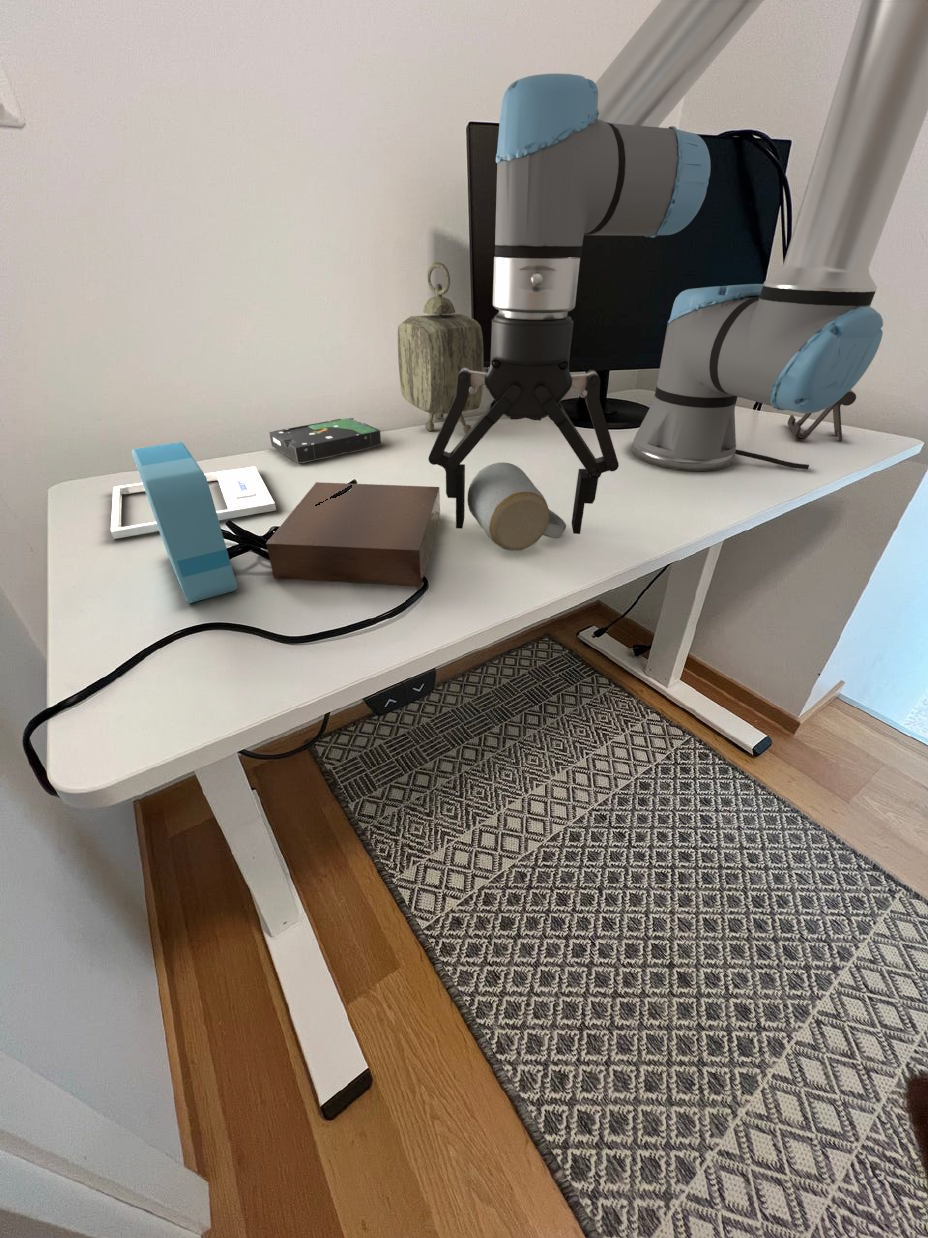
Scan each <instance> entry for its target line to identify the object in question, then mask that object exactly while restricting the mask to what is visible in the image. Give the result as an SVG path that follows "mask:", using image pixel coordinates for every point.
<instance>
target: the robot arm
mask: <svg viewBox="0 0 928 1238" xmlns="http://www.w3.org/2000/svg"><path fill="white" fill-rule="evenodd" d="M764 1H765V0H660V1H659V2H658V4H657V5H656V6H655V7H654V9H653V10H652V11H651V13H650V14H648V17H646V19H645V20H644V21H643V22H642V24H641V25H640V27H639V28H638V29H637V30H636V31H635V32H634V33H633V35H632V36H631V38H630V39H629V40H628V41H627V42H626V44H625V45H624V46H623V48H622V49H621V50H620V51H619V53H618V54H617V55H616V56H615V58H614V59H613V60H612V61H611V63H610V64H609V66H607V68H606V69H605V70H604V72H603V73H602V74H601V75H600V76H599V78H598V79H597V80H596V81H594V80H593V79H589V78H586V77H585V76H583V75H579V74H573V73H572V74H571V73H541V74H533V75H529V76H525V77H521V78H519V79H517V80H515V81H513V82H511V84H509V85H508V87H507V88H506V90H505V92H504V93H503V96H502V100H501V107H500V117H499V124H498V125H499V126H498V137H497V149H496V155H495V163H496V195H495V196H496V197H495V202H496V203H495V204H496V205H495V231H494V232H495V233H494V235H495V236H494V237H495V238H494V239H495V240H494V245H495V247H494V257H493V281H492V282H493V283H492V306H493V307H494V309H496V310H498V312H497V314H495V315H494V317H493V318H492V319H491V335H490V337H491V342H490V364H489V368H488V370H487V371H484V372H480V371H471V369H470V368H469V367H463V368H462V369H461V370H460V373H459V375H458V382H457V393H456V397H455V399H454V401H453V403H452V406H451V408H450V410H449V412H448V414H446V417H445V419H444V421H443V423H442V426H441V427H440V430H439V432H438V435H437V437H436V439H435V441H434V444H433V445H432V447H431V450H430V452H429V455H428V458H427V459H428V462H429V464H431V465H432V466H436V465H437V466H440V467H442V468H443V469H444V472H445V494H446V497H447V498H448V499H455V529H459V530H460V529H461V530H463V528H464V522H465V510H466V509H465V506H466V505H465V504H466V503H465V502H466V499H465V497H466V496H465V495H466V493H465V492H466V464H463V463H462V462H463V461H464V460H465V459H466V458H467V457H468V455H469V454H470V453H471V452H472V451H473V450H474V448H475V447H476V446H477V445H478V443H480V441H481V440H482V439H483V438H484V437H485V435H486V434H487V433H488V432H489V430H491V428H492V427H493V426H494V425H495V424H496V423H497V422H498V421H499V420H500V419H501V418H502V417H503V416H505V417H507V418H509V420H511V421H512V420H513V421H516V420H519V421H520V420H522V419H529V420H532V421H542V419H545V418H547V417H548V416H549V418H550V419H551V421H552V422H553V424H554V425H555V426H556V427H557V429H558V430H559V431H560V433H561V435H562V436H563V437H564V439H565V441H566V442H567V443H568V445H569V446H570V448H571V450H572V451H573V452H574V454H575V455H576V457H577V459H578V460H579V462H580V463H581V464H582V466H583V467H584V468H578V472H577V478H576V479H577V480H576V487H575V495H574V500H573V501H574V502H573V509H572V516H571V529H572V534H574V535H581V530H582V524H583V518H584V512H585V511H584V510H585V509H584V508H585V504H589V505H590V504H591V505H592V504H594V502H595V500H596V495H597V491H598V484H599V479H600V478H601V476H602V474H603V473H607V472H615V471H617V470H618V469H619V467H620V466H619V465H620V463H619V461H618V456H617V453H616V450H615V447H614V443H613V440H612V437H611V434H610V431H609V427H608V424H607V421H606V417H605V414H604V411H603V408H602V404H601V401H600V397H601V395H600V394H601V378H600V375H599V374H598V372H597V371H596V370H594V369H590V370H588V371H586V373H574V374H571V372H570V357H571V347H572V339H573V332H574V331H573V330H574V320H572V319H573V318H572V317H571V316H569V315H568V314H569V312H570V311H572V310H574V309H575V307H576V303H577V302H576V301H577V292H578V282H579V274H580V263H581V257H582V250H583V248H582V247H583V244H584V243H583V242H584V236H629V237H631V236H632V237H634V236H636V237H637V236H638V237H643V236H644V237H646V238H652V239H654V238H656V237H658V236H670V235H674V234H677V233H679V232H681V231H682V230H683V229H685V228H686V227H687V226H688V225H689V224H691V222H692V221H693V220H694V218H695V217H696V216H697V214H698V213H699V211H700V209H701V207H702V205H703V203H704V202H705V201H704V200H705V198H706V195H707V189H708V187H709V185H710V184H709V180H710V177H711V167H712V166H711V157H710V152H709V148H708V146H707V144H706V141H704V139H703V138H702V137H701V136H700V135H699V134H696V133H695V132H690V131H686V130H681V129H678V128H677V127H676V126H674V125H672V126H668V127H660V126H661V125H662V124H663V122H664V121H665V120H666V118H667V117H668V116H669V115H670V114H671V113H672V111H673V110H674V109H675V107H676V106H678V104H679V103H680V102H681V100H682V99H683V98H684V97H685V96H686V94H688V93H689V91H690V90H691V88H693V86H694V85H695V83H697V81H698V80H699V79H700V78H701V77H702V75H703V74H704V73H705V72H706V70H708V68H709V67H710V66H711V65H712V64H713V62H714V61H715V60H716V59H717V58H718V57H719V55H720V54H721V53H722V51H723V50H724V49H725V48H726V47H727V45H728V44H729V43H730V42H731V41H732V40H733V38H734V37H735V36H736V35H737V33H739V31H740V30H741V29H742V28H743V26H744V25H745V24H746V22H748V20H749V19H750V18H751V17H752V15H753V14H754V13H755V12H756V11H757V10H758V8H759V7H760V6H761V5H762V4H763V2H764ZM828 110H829V111H828V113H827V117H826V120H825V124H824V127H823V130H822V133H821V136H820V139H819V144H818V147H817V150H816V154H815V157H814V160H813V164H812V167H811V170H810V174H809V177H808V181H807V184H806V186H805V191H804V194H803V198H802V200H801V204H800V207H799V211H798V214H797V217H796V221H795V223H794V228H793V231H792V234H791V237H790V241H789V244H788V247H787V251H786V254H785V257H784V261H783V264H782V265H781V267H780V268H779V269H778V270H777V271H776V272H775V273H773V274H772V275H771V276H770V277H769V278H767V279H766V280H764V282H763V283H750V284H749V283H748V284H747V283H746V284H733V285H721V286H719V285H717V286H705V287H697V288H688V289H685V290H682V291H681V292H679V294H678V295H677V296H676V297H675V299H674V301H673V305H672V308H671V313H670V317H669V319H668V321H667V325H666V332H665V337H664V343H663V348H662V353H661V359H660V364H659V370H658V376H657V380H656V387H655V392H654V395H653V396H654V397H653V401H652V403H651V404H650V407H649V409H648V410H647V413H646V414H645V416H644V418H643V420H642V422H641V424H640V426H639V428H638V430H637V432H636V433H635V436H634V438H633V442H632V448H631V451H632V453H633V455H634V456H635V457H637V458H639V459H640V460H642V461H644V462H647V463H649V464H651V465H655V466H659V467H663V468H667V469H673V470H681V471H689V472H690V471H693V472H704V471H705V472H706V471H715V470H720V469H724V468H726V467H729V466H730V465H732V463H733V461H734V458H735V455H738V456H742V457H745V458H750V459H755V460H759V461H763V462H767V463H771V464H775V465H778V466H783V467H785V468H786V467H787V468H791V469H800V470H809V468H810V464H806V463H797V462H791V461H787V460H783V459H782V460H781V459H778V458H775V457H771V456H767V455H763V454H759V453H755V452H750V451H746V450H742V449H737V435H736V414H735V409H736V404H737V401H738V398H741V399H745V400H748V401H752V402H756V403H759V404H762V405H767V406H770V407H772V408H773V409H776V410H777V411H789V412H795V413H799V414H806V413H812V414H814V413H818V412H821V411H824V410H825V409H826V408H828V407H830V406H831V405H833V404H834V403H836V402H837V401H839V400H840V399H841V398H842V397H843V396H844V395H845V394H846V393H847V392H849V391H850V390H852V389H853V388H854V387H855V386H856V385H857V383H858V382H859V381H860V380H861V379H862V377H863V376H864V375H865V373H866V372H867V370H868V368H869V367H870V365H871V364H872V362H873V360H874V358H875V357H876V355H877V352H878V350H879V348H880V345H881V342H882V339H883V334H884V331H883V330H882V328H883V327H884V319H883V316H882V315H881V314H880V312H878V311H877V310H876V309H875V308H873V307H872V306H871V305H872V302H873V300H874V297H875V294H876V292H877V290H878V286H877V284H876V283H875V281H874V279H873V277H872V276H871V274H870V266H871V263H872V260H873V258H874V255H875V253H876V249H877V247H878V244H879V241H880V239H881V237H882V234H883V231H884V228H885V226H886V223H887V220H888V218H889V215H890V212H891V210H892V207H893V204H894V202H895V200H896V196H897V193H898V191H899V188H900V186H901V183H902V180H903V177H904V175H905V172H906V170H907V167H908V164H909V161H910V159H911V156H912V154H913V151H914V148H915V146H916V144H917V141H918V138H919V135H920V132H921V130H922V127H923V125H924V122H925V119H926V116H927V114H928V0H861V3H860V6H859V10H858V13H857V16H856V20H855V23H854V27H853V30H852V33H851V36H850V40H849V42H848V47H847V50H846V54H845V57H844V60H843V64H842V67H841V70H840V74H839V77H838V80H837V83H836V87H835V89H834V94H833V97H832V101H831V103H830V107H829V109H828ZM481 385H483V386H485V388H486V390H487V391H488V392H489V394H490V396H491V397H492V399H493V400H492V401H491V402H490V403H489V404H488V406H487V407H486V409H485V410H484V412H482V414H481V415H480V416H479V418H478V419H477V420H476V421H475V422H474V424H473V425H471V429H470V430H469V431H468V432H467V433H466V434H464V435H463V437H462V438H461V439H460V441H458V443H457V444H456V446H455V447H454V448H453V449H452V450H451V452H448V451H446V448H447V447H448V445H449V441H450V440H451V438H452V435H453V433H454V431H455V429H456V426H457V424H458V422H459V421H460V420H459V418H460V416H461V414H462V415H463V412H464V411H463V409H464V407H465V405H466V402H467V399H468V396H469V395H473V394H475V393H476V392H477V390H478V388H479V387H480V386H481ZM571 388H573V389H575V390H576V391H577V395H578V396H579V397H580V398H582V399H584V400H585V403H586V407H587V410H588V414H589V416H590V420H591V423H592V426H593V429H594V433H595V436H596V439H597V442H598V445H599V448H600V452H601V455H602V456H599V457H596V456H595V455H594V453H593V451H591V449H590V447H589V446H588V444H587V442H586V441H585V440H584V439H583V437H582V435H581V433H580V432H579V431H578V429H577V428H576V426H575V424H574V423H573V421H572V420H571V418H570V417H569V415H568V413H567V412H566V410H565V409H564V407H563V406H562V404H561V402H562V400H563V398H564V397H566V395H567V394H568V393H569V392H570V390H571Z"/></svg>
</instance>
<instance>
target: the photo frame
mask: <svg viewBox="0 0 928 1238" xmlns="http://www.w3.org/2000/svg"><path fill="white" fill-rule="evenodd" d="M204 475H205V477H206V479H207V482H208V483H209V482H213V481H217V482H218V484H219V487H220V490H221V492H222V495H223V496H222V497H223V499H224V502H225V505H226V507H227V509H221V510H216V513H217V516H218V520H219V521H224V520H228V519H235V518H241V517H245V516H252V515H257V514H263V513H268V512H274V511H277V506H276V503H275V501H274V499H273V497H272V495H271V493H270V492H269V489H268V488H267V486H266V484H265V482H264V480H263V479H262V477H261V475H260V473H259V472H258V469H257V467H256V466H249V467H241V468H235V469H234V468H233V469H228V470H221V471H214V472H213V471H212V472H206V473H204ZM141 492H145V489H144V486H143V483H142V482H138V483H132V484H124V485H118V486H113V489H112V505H111V518H110V519H111V521H110V533H111V536H112V538H113V540H115V539H122V538H127V537H133V536H138V535H144V534H150V533H155V532H159V529H158V526H157V523H156V521H151V522H146V523H145V522H144V523H139V524H134V525H127V526H122V504H123V503H122V502H123V500H122V499H123V498H122V497H123V496H122V495H127V494H134V493H141Z"/></svg>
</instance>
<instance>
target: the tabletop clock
mask: <svg viewBox="0 0 928 1238" xmlns="http://www.w3.org/2000/svg"><path fill="white" fill-rule="evenodd" d="M434 269H442V271H443V272H444V274H445V277H446V286H445V287H444V288H443V285H442V284H441V283H436V284H435V285H434V286H433V284H432V281H431V279H432V278H431V276H432V273H433V271H434ZM427 284H428V287H429V290H431V291H432V293H433V294H435V296H434V297H430V298H429V299H428V300H426V302H425V304H424V306H423V310H422V313H423V314H427V315H411V316H409V317H407V318H405V320H404V321H403V322H401V323H400V324H399V325H398V326H397V358H398V359H397V360H398V371H399V372H398V373H399V383H400V390H401V395H402V397H403V399H404V401H406V402H407V403H408V404H411V406H414V407H415V408H417V409H419V410H421V411H424V412H425V413H428V414H429V419H428V421H427V422H426V423H425V424H424V428H425V430H426V431H427V432H432V431H433V430H434V429H435V423H434V422H433V420H434V417H435V419H436V420H442V419H443V418H444V415H447V414H448V412H449V410H450V408H451V406H452V403H453V401H454V399H455V397H456V393H457V382H458V375H459V373H460V370H461V369H462V368H463V367H469V368H470V369H471V371H480V372H485V366H484V365H485V363H484V362H485V361H484V357H485V356H484V355H485V354H484V336H483V330H482V326H481V325H480V323H479V321H477V320H476V319H474V318H472V317H469V316H468V315H465V314H462V313H457V312H456V308H455V307H454V304H453V302H452V301H451V300H450V299H449V298H448V297H445V296H444V295H445V294H446V293H448V292H449V289H450V287H451V275H450V272H449V270H448V268H447V266H446V265H445V264H444V263H442V262H436V261H435V262H433V263H432V264H431V265H430V266H429V269H428V271H427ZM483 387H484V385H481V386H480V387H479V388H478V390H477V392H476V393H475V394H473V395H469V396H468V399H467V402H466V405H465V407H464V409H463V412H467V411H468V412H469V411H475V410H479V409H480V406H481V403H482V396H483ZM458 421H460V423H461V424H462V425H463V428H462V432H463V434H464V435H466V433H467V432H468V431H469V430H470V429H471V427H472V425H470V424H467V423H466V420H465V418H464V416H463V413H462V414H461V416H460V418H459V420H458Z"/></svg>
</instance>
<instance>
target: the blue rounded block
mask: <svg viewBox="0 0 928 1238" xmlns="http://www.w3.org/2000/svg"><path fill="white" fill-rule="evenodd" d="M131 455H132V457H133V460H134V464H135V466H136V469H137V472H138V475H139V478H140V481H141V483H143V486H144V489H145V491H144V492H145V494H146V495H145V496H146V497H147V500H148V504H149V506H150V509H151V512H152V514H153V518H154V520H155V522H156V523H157V526H158V529H159V531H158V532H159V535H160V537H161V540H162V544H163V546H164V548H165V551H166V554H167V557H168V559H169V562H170V564H171V567H172V569H173V572H174V574H175V576H176V579H177V581H178V583H179V584H178V585H179V586H180V588H181V591H182V594H183V596H184V598H185V600H186V602H187V603H188V604H191V603H195V602H196V603H197V602H200V601H202V600H205V599H210V598H213V597H217V596H221V595H224V594H228V593H231V592H234V591H237V588H238V587H237V585H238V584H237V581H236V578H235V574H234V570H233V567H232V563H231V559H230V556H229V552H228V548H227V545H226V542H225V537H224V534H223V531H222V527H221V523H220V520H218V516H217V513H216V511H217V510H216V505H215V502H214V499H213V495H212V491H211V488H210V486H209V481H208V482H207V479H206V477H205V475H204V474H205V473H204V471H203V469H202V468H201V466H200V465H199V464H198V463H197V461H196V460H195V458H194V457H193V455H192V454H191V452H190V451H189V450H188V448H187V447H186V445H185V444H184V442H183V441H178V442H172V443H171V442H170V443H165V444H158V445H152V446H143V447H137V448H133V449H132V450H131Z"/></svg>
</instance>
